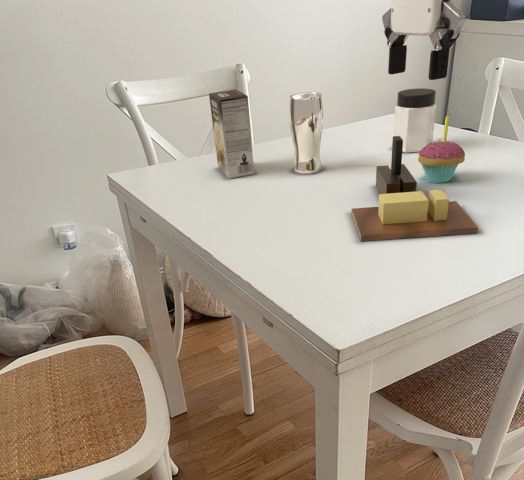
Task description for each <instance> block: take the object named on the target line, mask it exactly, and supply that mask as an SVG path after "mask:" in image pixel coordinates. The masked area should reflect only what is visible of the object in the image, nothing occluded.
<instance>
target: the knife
mask: <svg viewBox="0 0 524 480" xmlns="http://www.w3.org/2000/svg"><path fill="white" fill-rule="evenodd" d="M391 144H392V146H391V161H390V162H391V165H390V169H391V171H392V172H393V174H394V176H395V177H396V179H397V180H398V182H399V192H400V177H399V175H401V164H403V163H402V162H403V161H402V160H403V152H402V149H403V140H402V138H401V137H400V136H394V135H393V136H392V143H391Z"/></svg>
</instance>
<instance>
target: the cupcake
mask: <svg viewBox="0 0 524 480" xmlns="http://www.w3.org/2000/svg"><path fill="white" fill-rule="evenodd" d="M449 113H450V112H449V111H448V112H447V115H446V116H445V120H444V127H443V133H442V134H443V136H442V140H439V141H435V140H434V141H433V142H432V143H430V144H427V145H426V146H425V147H423V148H422V150H420V152H418V157H417V162H418V163H419V164H420V165H421V167H422V169H423V172H424V177H425V180H426V182H429V183H433V184H442V183H443V184H444V183H449V182H450V181H451V180H452V178H453V176H454V173H455V171H456V170H457V168H458V166H459V165H460V164H462V163H464V162H465V157H466V153H465V150H464V148H463V147H461V145H459V144H458V143H456V142H453V141H449V140H447V139H448V138H447V137H448V131H449V123H450V116H449V115H450V114H449Z"/></svg>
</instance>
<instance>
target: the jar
mask: <svg viewBox="0 0 524 480" xmlns="http://www.w3.org/2000/svg"><path fill="white" fill-rule="evenodd" d="M436 91H437V90H435V89H433V88H409V89H403V90H400V91H398V92H397V99H396V100H397V102H396V105H395V108H394V123H393V124H394V125H393V136H400V137H401V138H402V140H403V149H402V153H404V154H405V153H406V154H407V153H409V154H410V153H420V150H422V148H423V147H425V146H426V145H427V144H430V143H432V142H434V141H433V140H434V131H435V121H436V110H437V103H436V95H437V92H436Z"/></svg>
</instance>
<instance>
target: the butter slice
mask: <svg viewBox="0 0 524 480" xmlns="http://www.w3.org/2000/svg"><path fill="white" fill-rule="evenodd" d="M449 202H450V198H449V197H448V195H447V194H446V193H445V192H444V191H443V189H433V190H429V191H428V212H429V214H430V215H431V217H432V218H433V220H434V221H438V220H447V213H448V204H449Z"/></svg>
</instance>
